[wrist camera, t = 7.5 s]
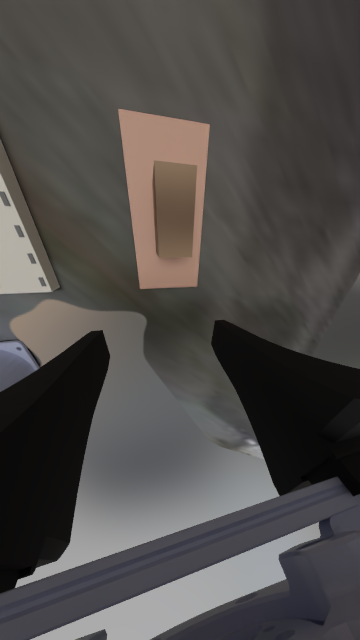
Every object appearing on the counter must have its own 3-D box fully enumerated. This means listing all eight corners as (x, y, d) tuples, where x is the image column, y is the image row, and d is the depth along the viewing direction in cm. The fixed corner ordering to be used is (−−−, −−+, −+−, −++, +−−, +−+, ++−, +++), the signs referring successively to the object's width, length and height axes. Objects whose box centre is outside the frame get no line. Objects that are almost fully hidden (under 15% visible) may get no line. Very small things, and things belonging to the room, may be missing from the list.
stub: (193, 283, 18) (210, 299, 13) (140, 284, 17) (138, 303, 12) (202, 136, 12) (239, 69, 7) (121, 124, 11) (101, 34, 6)
